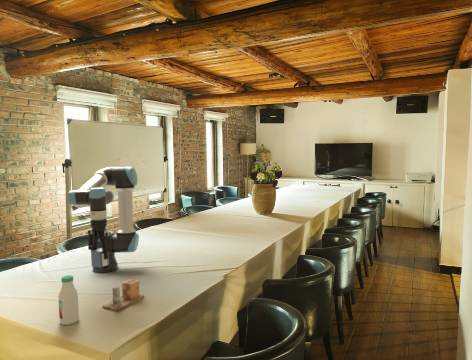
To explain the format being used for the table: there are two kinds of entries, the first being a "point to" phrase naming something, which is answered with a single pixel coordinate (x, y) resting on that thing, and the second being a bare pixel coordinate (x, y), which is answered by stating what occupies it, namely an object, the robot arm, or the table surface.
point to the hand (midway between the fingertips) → (100, 264)
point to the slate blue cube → (97, 257)
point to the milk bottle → (68, 302)
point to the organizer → (124, 296)
